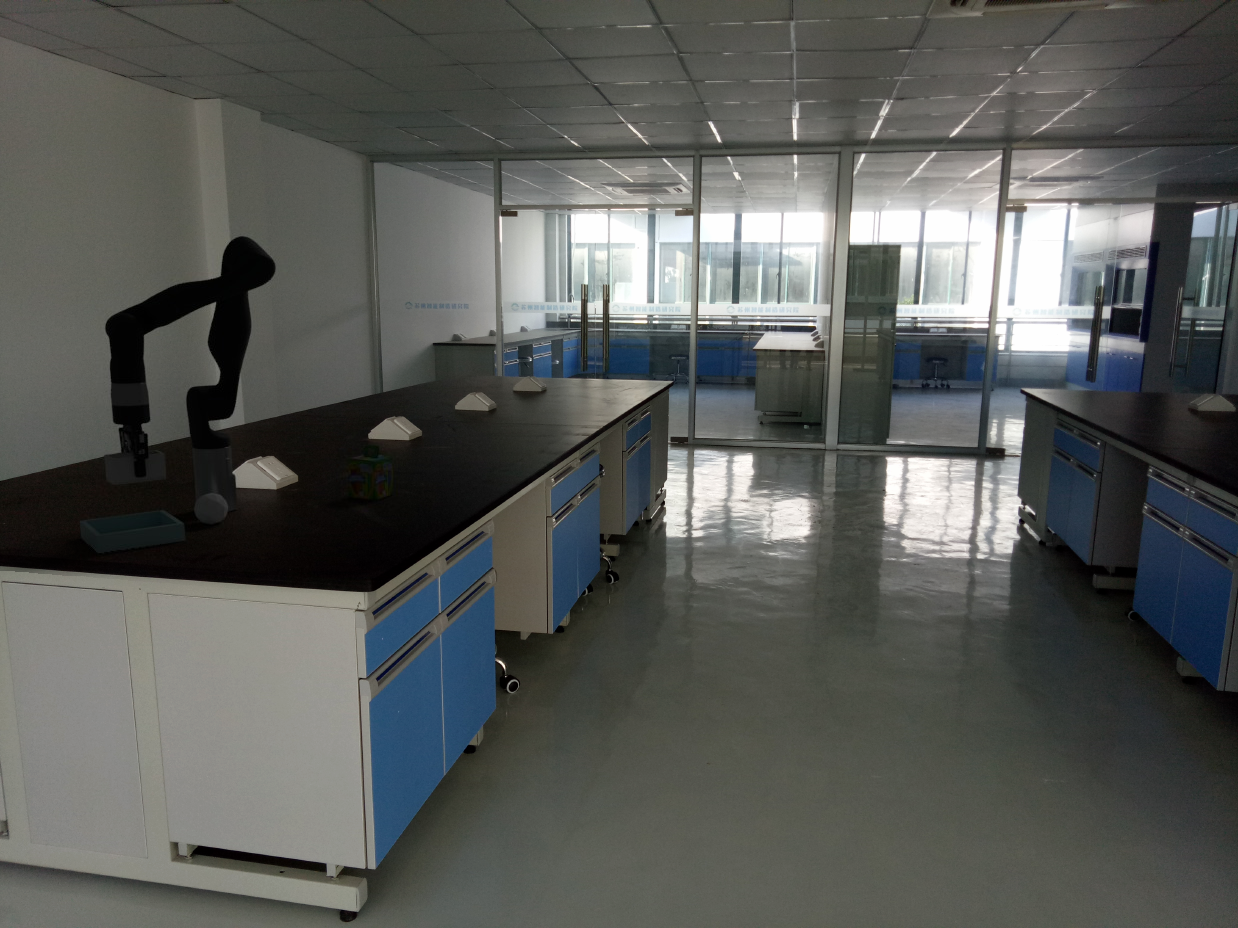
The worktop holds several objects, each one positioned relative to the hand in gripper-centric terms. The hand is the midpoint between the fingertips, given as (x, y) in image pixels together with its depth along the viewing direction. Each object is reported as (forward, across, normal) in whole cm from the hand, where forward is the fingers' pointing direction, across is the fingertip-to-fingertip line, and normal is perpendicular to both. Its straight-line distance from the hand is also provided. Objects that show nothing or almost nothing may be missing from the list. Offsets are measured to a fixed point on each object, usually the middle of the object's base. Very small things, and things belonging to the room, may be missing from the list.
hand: (136, 474), depth 205 cm
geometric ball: (+16, +5, -18) cm, 24 cm away
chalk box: (+16, +8, -63) cm, 65 cm away
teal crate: (+16, +1, +1) cm, 16 cm away
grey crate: (+1, 0, 0) cm, 1 cm away
